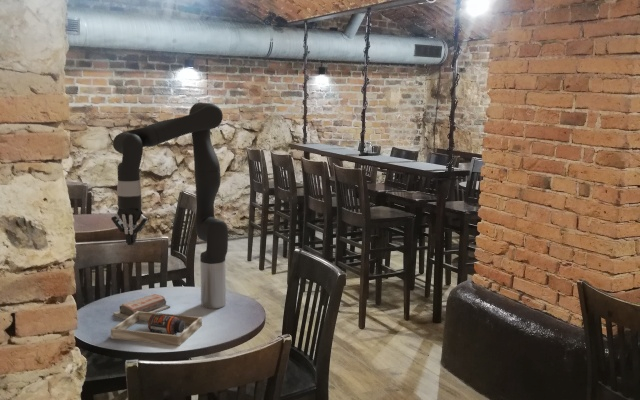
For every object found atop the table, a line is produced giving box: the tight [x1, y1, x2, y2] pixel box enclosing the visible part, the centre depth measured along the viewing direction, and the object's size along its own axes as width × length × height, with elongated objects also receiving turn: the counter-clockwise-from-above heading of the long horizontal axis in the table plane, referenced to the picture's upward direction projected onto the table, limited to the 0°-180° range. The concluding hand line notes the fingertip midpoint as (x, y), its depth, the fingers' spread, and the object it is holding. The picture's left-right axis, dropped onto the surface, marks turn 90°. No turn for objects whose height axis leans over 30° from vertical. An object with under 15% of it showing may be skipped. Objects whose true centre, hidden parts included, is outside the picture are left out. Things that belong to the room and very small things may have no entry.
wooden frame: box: [110, 311, 203, 346], centre depth 215 cm, size 18×24×3 cm
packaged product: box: [112, 293, 171, 320], centre depth 234 cm, size 18×5×10 cm
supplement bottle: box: [147, 314, 186, 335], centre depth 213 cm, size 6×6×11 cm
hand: (130, 244), depth 215 cm, fingers closed
